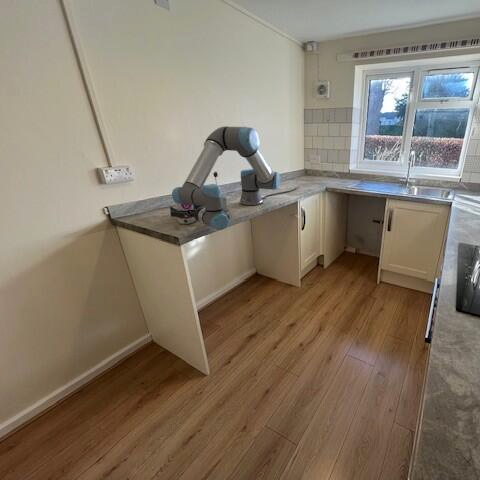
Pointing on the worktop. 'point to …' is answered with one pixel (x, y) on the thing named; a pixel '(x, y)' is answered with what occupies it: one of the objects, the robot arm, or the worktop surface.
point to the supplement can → (185, 207)
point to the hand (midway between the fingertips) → (184, 207)
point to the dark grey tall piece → (215, 177)
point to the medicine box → (224, 203)
